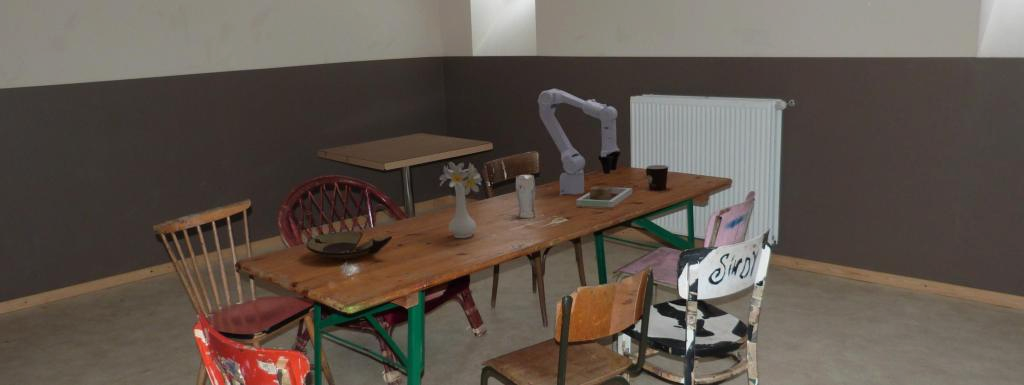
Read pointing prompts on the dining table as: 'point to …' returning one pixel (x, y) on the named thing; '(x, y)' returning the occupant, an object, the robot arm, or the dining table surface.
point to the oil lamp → (345, 245)
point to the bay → (604, 203)
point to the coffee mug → (657, 177)
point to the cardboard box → (600, 193)
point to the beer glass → (525, 195)
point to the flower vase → (461, 197)
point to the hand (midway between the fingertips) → (610, 171)
